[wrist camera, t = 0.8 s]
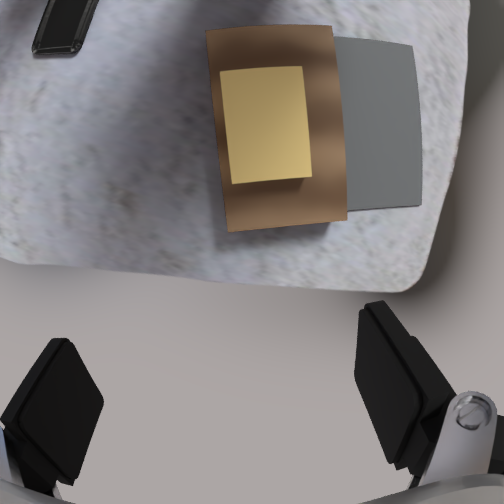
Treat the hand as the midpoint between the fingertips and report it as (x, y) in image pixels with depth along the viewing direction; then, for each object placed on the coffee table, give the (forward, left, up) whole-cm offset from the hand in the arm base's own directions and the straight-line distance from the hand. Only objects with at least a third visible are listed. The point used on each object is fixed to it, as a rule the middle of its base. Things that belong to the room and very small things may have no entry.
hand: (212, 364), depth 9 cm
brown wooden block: (-7, +6, -26) cm, 27 cm away
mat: (-7, +18, -26) cm, 32 cm away
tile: (-7, +4, -22) cm, 23 cm away
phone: (-28, -16, -26) cm, 42 cm away
